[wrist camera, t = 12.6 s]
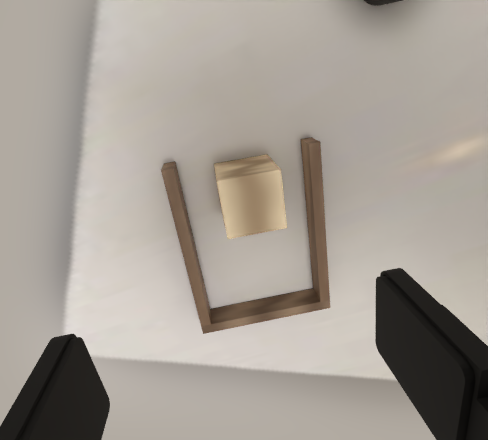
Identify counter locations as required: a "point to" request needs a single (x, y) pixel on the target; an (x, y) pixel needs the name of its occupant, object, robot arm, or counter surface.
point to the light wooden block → (251, 196)
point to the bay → (271, 305)
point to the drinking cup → (380, 1)
